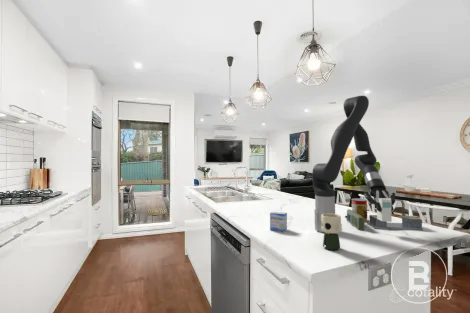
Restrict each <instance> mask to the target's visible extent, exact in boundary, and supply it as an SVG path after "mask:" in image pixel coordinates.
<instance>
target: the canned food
mask: <svg viewBox="0 0 470 313" xmlns="http://www.w3.org/2000/svg"><path fill="white" fill-rule="evenodd" d="M351 210H352V211H354V212H355V213H357V214H358V215H360V216H362V217H363V218H364V223H367V222H368V200H367V199H366V198H357V197H356V198H355V197H354V198H351Z"/></svg>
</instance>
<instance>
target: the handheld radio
mask: <svg viewBox="0 0 470 313" xmlns="http://www.w3.org/2000/svg"><path fill="white" fill-rule="evenodd" d="M344 218H346V221H347V223H349V224H350V225H352V226H353V227H355V228H356V229H357V230H358V231H364V229H365V222H364V218H363V217H362V216H360V215H358V214H357V213H355V212H354V211H352V209H349V208H347V209H346V215H345V216H344Z"/></svg>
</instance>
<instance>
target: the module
mask: <svg viewBox="0 0 470 313" xmlns="http://www.w3.org/2000/svg"><path fill="white" fill-rule="evenodd" d="M378 200H379V203H380V205H381V208H382V211H381V212H379V211H378V210H377V209H376V215H377V219H379V220H381V221H387V223H393V222H392V221H393V220H392V218H393V217H392V212H391V198H389V199H387V198H378Z"/></svg>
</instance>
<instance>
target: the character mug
mask: <svg viewBox="0 0 470 313" xmlns="http://www.w3.org/2000/svg"><path fill="white" fill-rule="evenodd" d="M341 217H342V216H341V215H340V214H336V213H335V214H330V213H326V214H322V215H321V223H322V226H321V228H322V231H324V232H323V233H324V234H323V242H322V247H323V248H325V249H327V250H333V251H335V250H338V249H340V248H341V243H340V236H339V234H340V233H341V232H342V229H343V228H342V226H343V224H342V218H341Z"/></svg>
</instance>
